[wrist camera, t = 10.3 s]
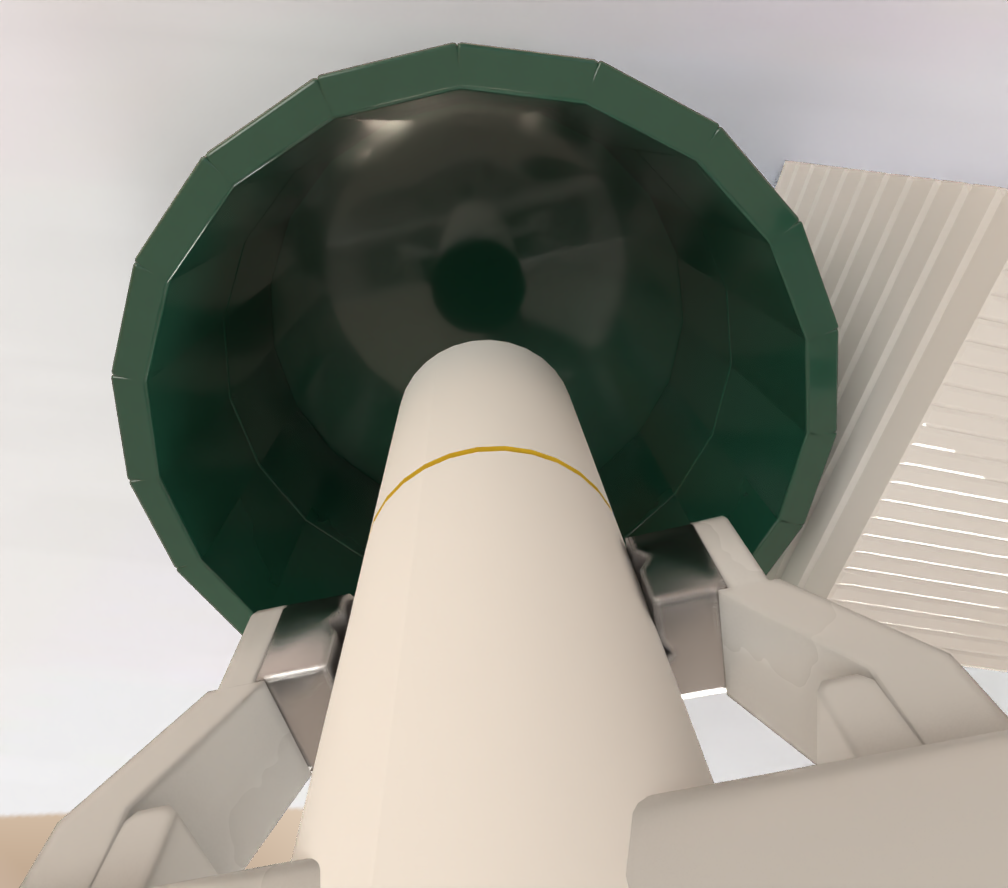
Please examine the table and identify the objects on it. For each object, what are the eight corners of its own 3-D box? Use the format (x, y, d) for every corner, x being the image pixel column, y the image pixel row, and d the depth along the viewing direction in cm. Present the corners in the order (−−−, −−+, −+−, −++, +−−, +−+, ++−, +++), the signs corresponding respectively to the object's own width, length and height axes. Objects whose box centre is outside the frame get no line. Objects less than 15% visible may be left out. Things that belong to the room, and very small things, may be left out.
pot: (673, 26, 20) (846, -55, 11) (710, 469, 26) (834, 649, 17) (181, 145, 20) (-46, 163, 11) (339, 546, 27) (274, 755, 18)
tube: (363, 397, 16) (-270, 2052, 2) (518, 305, 15) (994, 2000, 1) (459, 525, 17) (429, 1899, 4) (602, 449, 17) (1178, 1839, 3)
